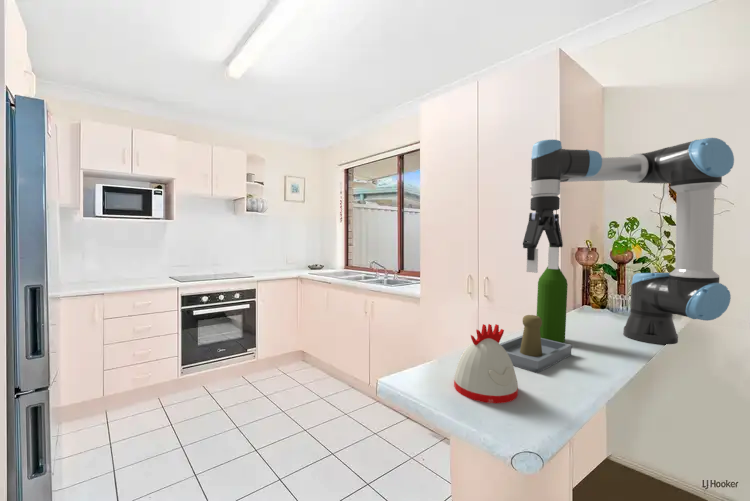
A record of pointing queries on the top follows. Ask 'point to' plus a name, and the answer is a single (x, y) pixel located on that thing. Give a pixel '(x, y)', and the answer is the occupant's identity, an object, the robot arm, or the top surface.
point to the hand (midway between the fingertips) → (543, 270)
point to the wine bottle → (552, 304)
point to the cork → (531, 336)
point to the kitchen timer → (486, 369)
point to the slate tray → (550, 356)
